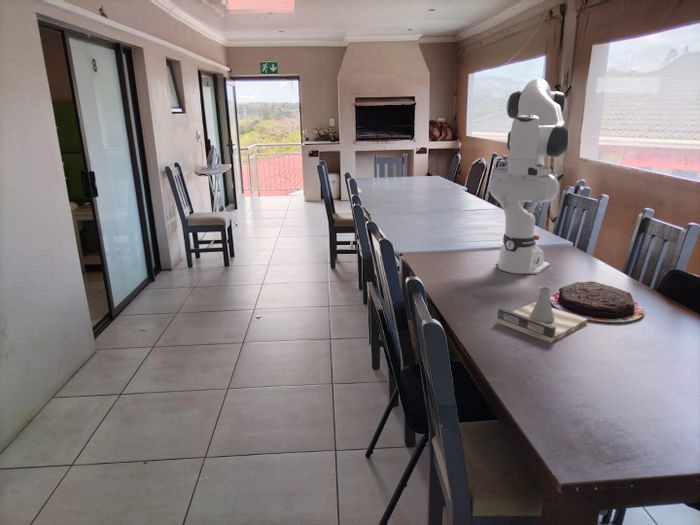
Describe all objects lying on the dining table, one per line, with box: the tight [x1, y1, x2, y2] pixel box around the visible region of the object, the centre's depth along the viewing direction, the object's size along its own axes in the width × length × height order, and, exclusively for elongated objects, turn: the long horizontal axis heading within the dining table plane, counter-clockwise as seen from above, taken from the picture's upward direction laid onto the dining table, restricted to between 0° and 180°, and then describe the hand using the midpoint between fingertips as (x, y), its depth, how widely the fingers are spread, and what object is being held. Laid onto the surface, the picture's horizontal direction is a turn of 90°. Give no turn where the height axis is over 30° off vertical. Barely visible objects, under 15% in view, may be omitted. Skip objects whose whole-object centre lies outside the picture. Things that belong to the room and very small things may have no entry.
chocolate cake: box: [549, 281, 645, 325], centre depth 157 cm, size 28×28×7 cm
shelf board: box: [496, 301, 588, 344], centre depth 146 cm, size 20×18×4 cm
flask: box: [529, 286, 555, 323], centre depth 145 cm, size 7×7×10 cm
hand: (518, 210), depth 157 cm, fingers open, 8 cm apart
